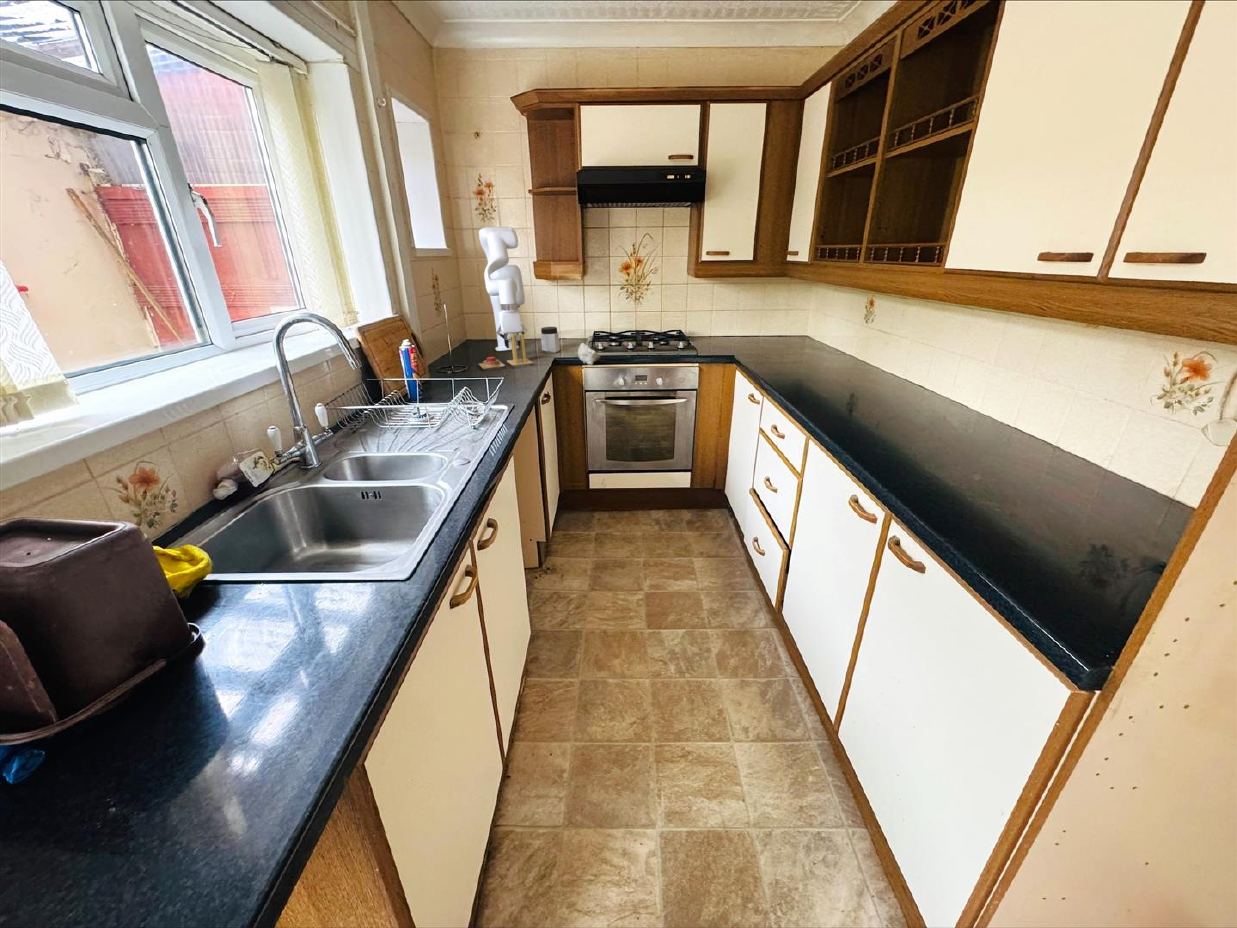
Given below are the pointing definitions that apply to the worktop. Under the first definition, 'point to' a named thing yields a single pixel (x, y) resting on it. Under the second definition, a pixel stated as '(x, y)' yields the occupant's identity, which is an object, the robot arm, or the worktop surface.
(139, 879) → the worktop surface
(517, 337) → the switch lever
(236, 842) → the worktop surface
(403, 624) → the worktop surface
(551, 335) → the jar
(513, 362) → the light wood peg stand
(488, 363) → the switch block
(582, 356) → the grey rock
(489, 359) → the button
